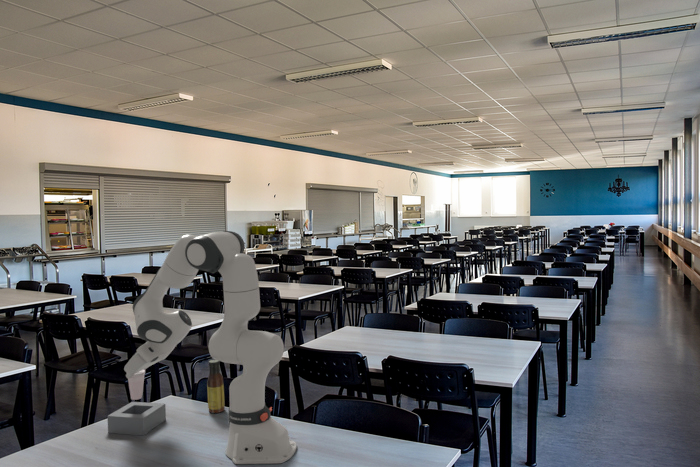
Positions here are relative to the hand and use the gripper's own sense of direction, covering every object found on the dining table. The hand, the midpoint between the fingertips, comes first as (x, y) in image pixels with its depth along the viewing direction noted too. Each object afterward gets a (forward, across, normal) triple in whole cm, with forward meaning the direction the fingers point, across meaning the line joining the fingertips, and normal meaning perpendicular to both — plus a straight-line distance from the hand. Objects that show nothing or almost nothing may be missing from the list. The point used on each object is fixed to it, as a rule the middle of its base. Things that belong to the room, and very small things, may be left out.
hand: (134, 373), depth 184 cm
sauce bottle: (-2, -18, +30) cm, 35 cm away
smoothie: (+6, 0, +7) cm, 9 cm away
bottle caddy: (+13, 0, +14) cm, 19 cm away
